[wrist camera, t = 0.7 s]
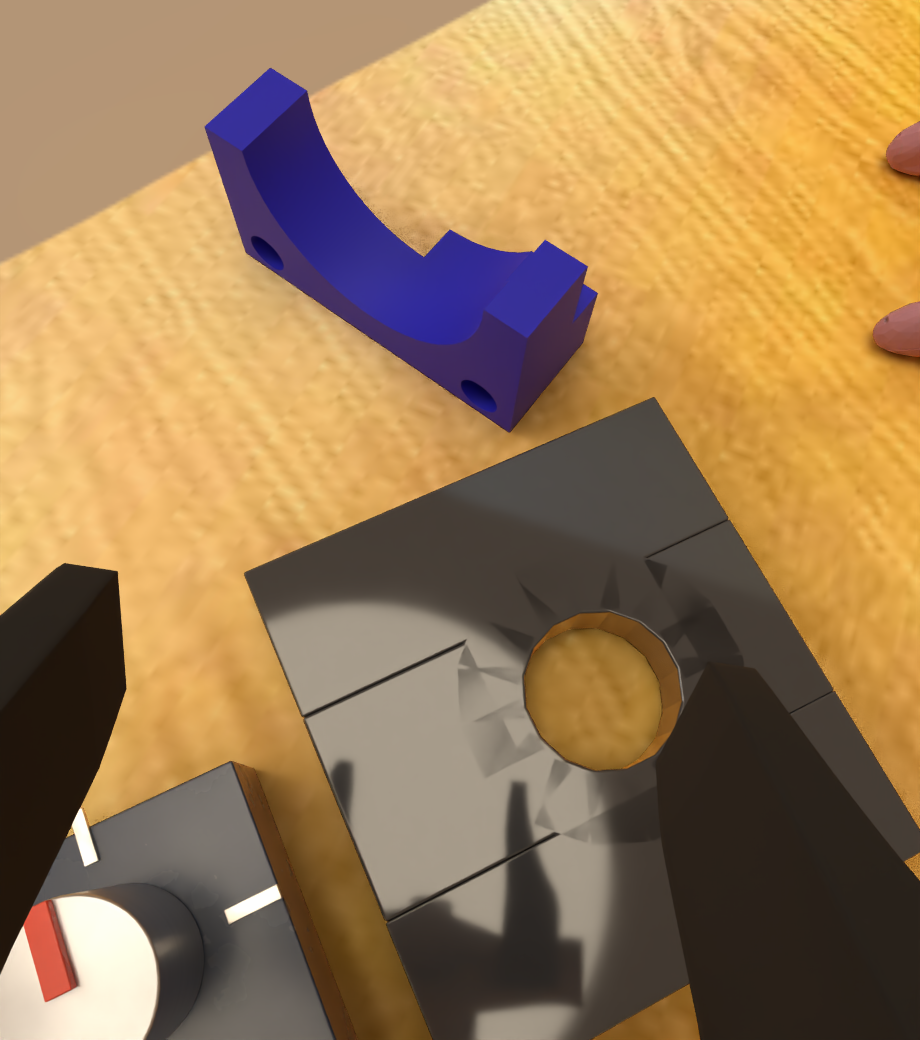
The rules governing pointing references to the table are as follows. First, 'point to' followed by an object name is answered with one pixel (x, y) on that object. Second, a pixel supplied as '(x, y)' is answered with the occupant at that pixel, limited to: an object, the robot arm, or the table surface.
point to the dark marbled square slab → (511, 730)
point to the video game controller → (915, 323)
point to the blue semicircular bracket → (396, 263)
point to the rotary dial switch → (219, 904)
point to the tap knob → (102, 967)
